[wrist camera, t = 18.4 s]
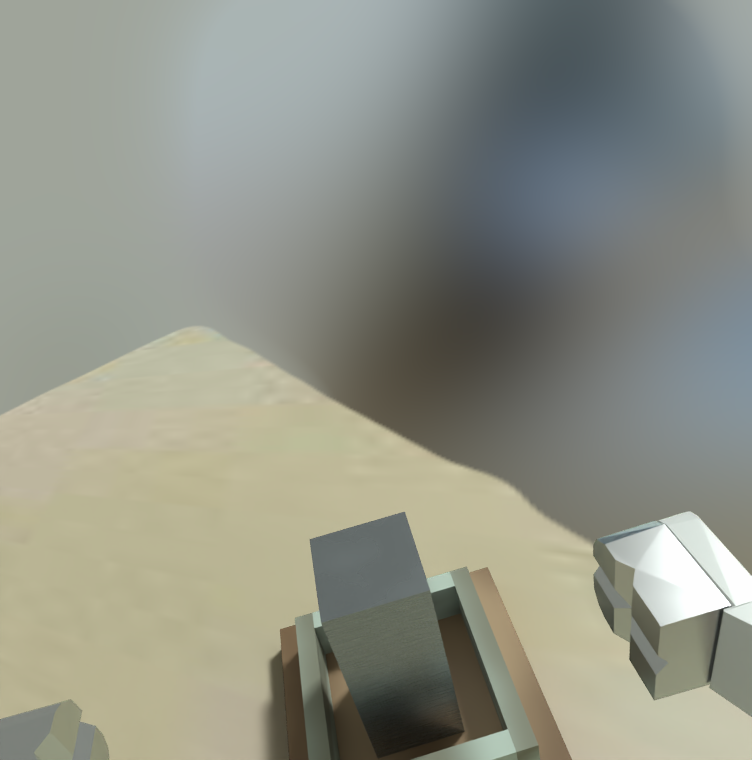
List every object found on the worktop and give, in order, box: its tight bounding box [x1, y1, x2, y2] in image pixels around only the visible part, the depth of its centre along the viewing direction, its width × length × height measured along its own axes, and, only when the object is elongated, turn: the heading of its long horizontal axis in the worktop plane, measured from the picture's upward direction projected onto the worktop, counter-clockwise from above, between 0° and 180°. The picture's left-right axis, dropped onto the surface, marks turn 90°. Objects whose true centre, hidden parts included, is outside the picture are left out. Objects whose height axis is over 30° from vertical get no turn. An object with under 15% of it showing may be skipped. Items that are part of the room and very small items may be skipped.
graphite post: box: [310, 512, 465, 758], centre depth 29 cm, size 4×4×11 cm
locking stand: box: [280, 567, 572, 760], centre depth 32 cm, size 13×13×4 cm
